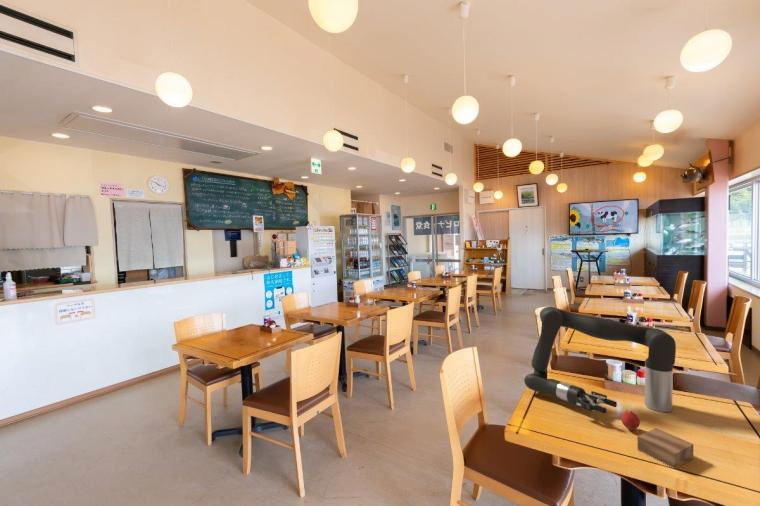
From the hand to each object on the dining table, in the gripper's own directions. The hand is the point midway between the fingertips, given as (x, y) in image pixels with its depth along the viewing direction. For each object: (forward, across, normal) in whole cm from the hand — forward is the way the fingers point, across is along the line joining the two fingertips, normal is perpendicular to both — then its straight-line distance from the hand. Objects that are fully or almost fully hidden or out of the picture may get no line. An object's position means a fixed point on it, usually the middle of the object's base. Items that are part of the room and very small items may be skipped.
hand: (611, 408), depth 140 cm
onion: (+6, 0, +6) cm, 9 cm away
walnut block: (+19, -7, +6) cm, 22 cm away
